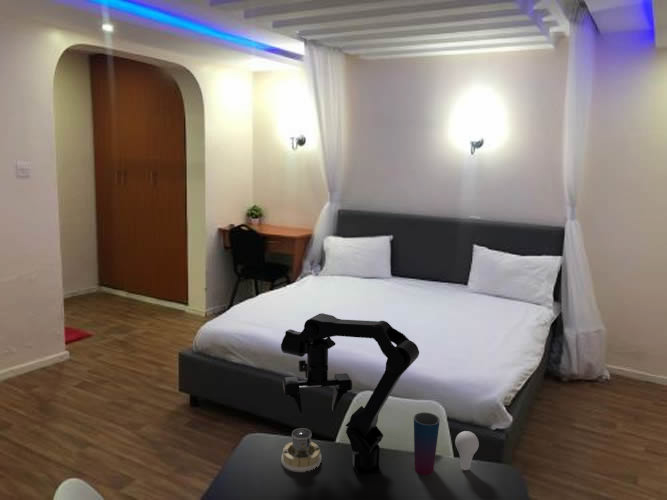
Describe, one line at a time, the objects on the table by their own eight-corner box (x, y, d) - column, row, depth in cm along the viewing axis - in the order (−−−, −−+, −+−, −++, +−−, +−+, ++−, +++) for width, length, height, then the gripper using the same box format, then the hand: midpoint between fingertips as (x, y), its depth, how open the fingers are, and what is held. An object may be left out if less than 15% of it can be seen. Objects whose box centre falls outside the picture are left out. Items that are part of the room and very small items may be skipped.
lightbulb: (477, 477, 147) (480, 439, 145) (453, 474, 148) (456, 437, 146) (476, 464, 153) (478, 428, 150) (453, 462, 154) (455, 425, 152)
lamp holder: (317, 447, 160) (317, 436, 159) (324, 470, 149) (324, 457, 149) (279, 451, 158) (279, 439, 157) (283, 474, 147) (283, 462, 146)
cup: (416, 478, 146) (419, 426, 143) (407, 463, 153) (410, 413, 150) (440, 475, 148) (443, 423, 145) (431, 461, 154) (433, 411, 151)
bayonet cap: (313, 461, 151) (313, 438, 149) (293, 463, 150) (293, 440, 148) (309, 449, 157) (309, 426, 155) (290, 451, 156) (290, 428, 154)
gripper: (344, 347, 162) (343, 396, 165) (280, 350, 159) (280, 401, 162) (353, 362, 152) (351, 414, 155) (284, 366, 148) (285, 420, 151)
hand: (317, 412), depth 156 cm, fingers open, 9 cm apart
